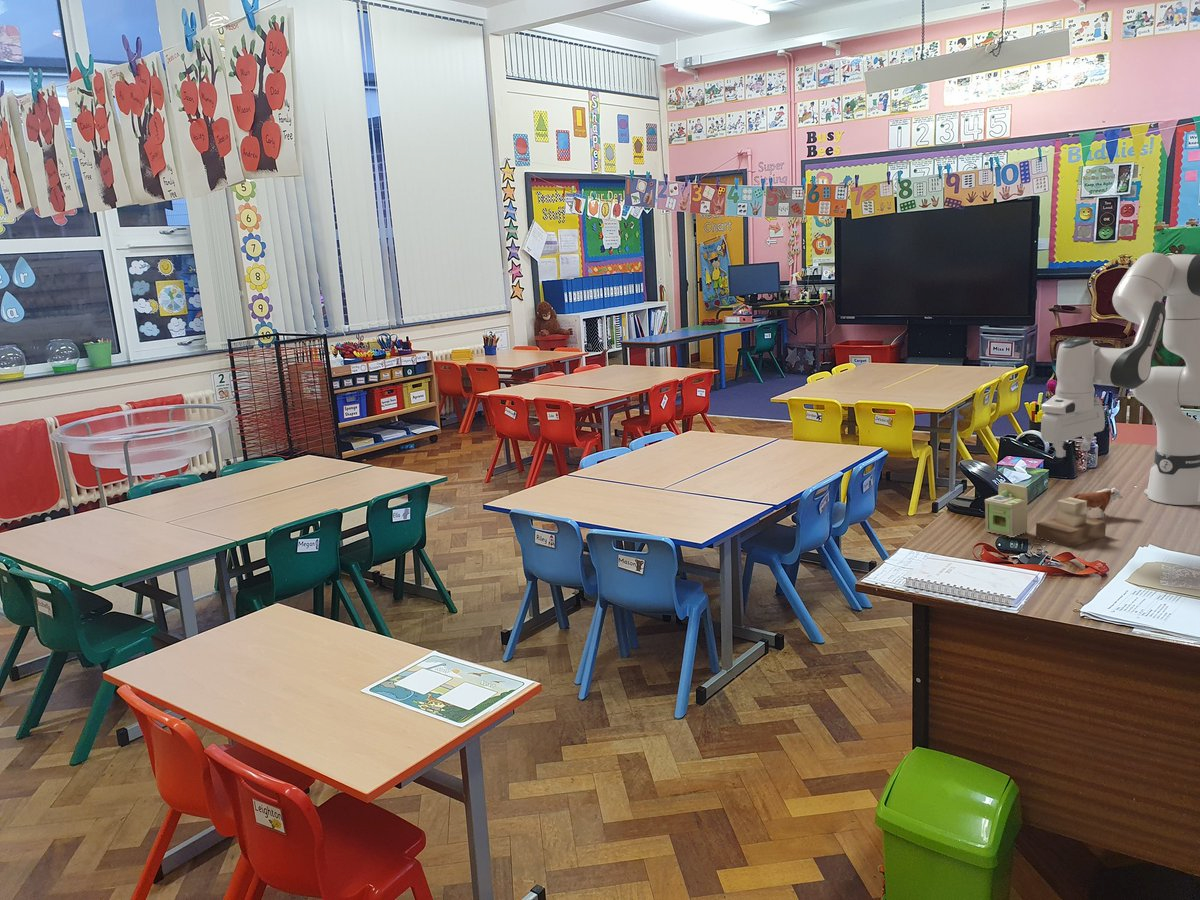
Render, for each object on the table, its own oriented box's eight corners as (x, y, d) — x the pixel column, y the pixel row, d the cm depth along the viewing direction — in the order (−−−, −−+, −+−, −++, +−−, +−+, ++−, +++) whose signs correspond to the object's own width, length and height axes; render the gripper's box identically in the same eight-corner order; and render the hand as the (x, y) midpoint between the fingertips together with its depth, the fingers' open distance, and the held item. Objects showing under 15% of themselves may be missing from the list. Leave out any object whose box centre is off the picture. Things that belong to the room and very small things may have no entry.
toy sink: (983, 532, 247) (983, 486, 244) (999, 526, 251) (1000, 481, 248) (1010, 539, 240) (1011, 492, 237) (1027, 532, 244) (1028, 486, 241)
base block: (1071, 527, 245) (1071, 513, 244) (1105, 535, 236) (1105, 521, 235) (1035, 537, 239) (1036, 523, 238) (1069, 547, 230) (1070, 532, 230)
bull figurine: (1124, 516, 250) (1125, 488, 248) (1075, 520, 250) (1076, 492, 249) (1115, 512, 254) (1116, 484, 252) (1067, 515, 255) (1068, 488, 253)
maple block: (1069, 518, 240) (1069, 497, 239) (1086, 522, 236) (1086, 501, 234) (1056, 522, 238) (1056, 500, 237) (1073, 526, 234) (1074, 504, 232)
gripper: (1090, 394, 237) (1088, 444, 240) (1036, 406, 229) (1035, 458, 232) (1112, 396, 231) (1110, 448, 234) (1058, 409, 223) (1057, 462, 226)
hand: (1073, 453), depth 233 cm, fingers open, 8 cm apart
